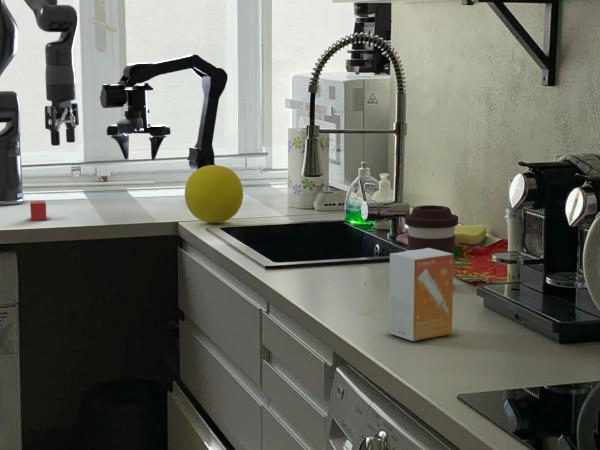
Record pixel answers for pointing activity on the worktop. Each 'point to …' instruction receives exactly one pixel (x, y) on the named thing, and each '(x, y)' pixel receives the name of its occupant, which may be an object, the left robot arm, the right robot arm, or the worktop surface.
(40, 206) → the red block
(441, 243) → the coffee cup
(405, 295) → the small box
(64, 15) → the left robot arm
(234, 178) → the toy
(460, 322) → the worktop surface
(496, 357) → the worktop surface
